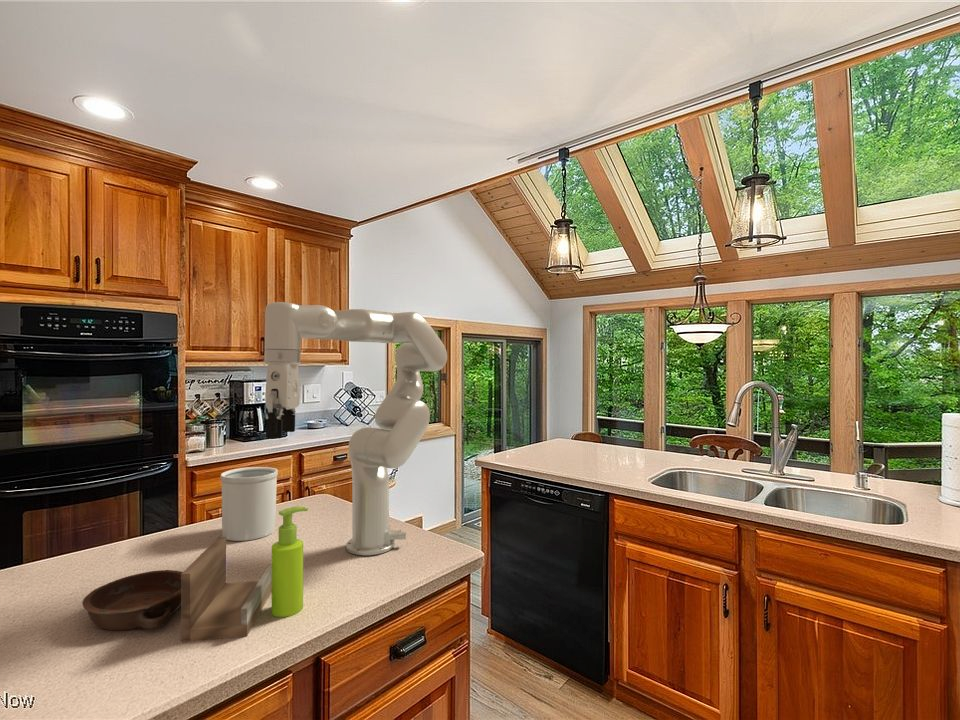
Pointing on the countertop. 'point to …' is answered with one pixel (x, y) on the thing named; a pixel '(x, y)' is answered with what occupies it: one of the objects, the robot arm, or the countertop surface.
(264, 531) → the utensil holder
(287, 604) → the soap dispenser
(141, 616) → the dish
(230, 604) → the board
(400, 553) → the countertop surface
